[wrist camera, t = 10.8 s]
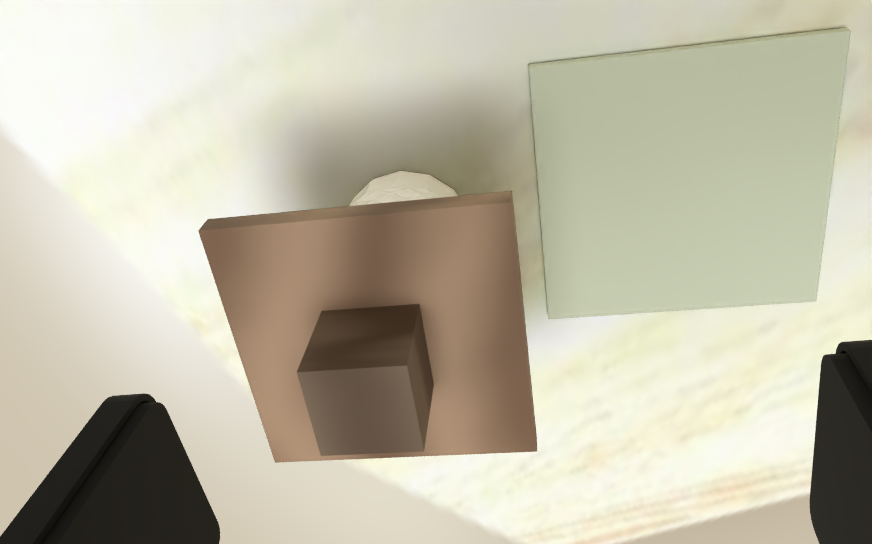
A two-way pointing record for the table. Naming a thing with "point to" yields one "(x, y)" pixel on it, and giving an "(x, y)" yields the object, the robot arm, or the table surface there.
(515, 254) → the lid
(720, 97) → the mat
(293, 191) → the table surface
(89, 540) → the robot arm
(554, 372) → the table surface
